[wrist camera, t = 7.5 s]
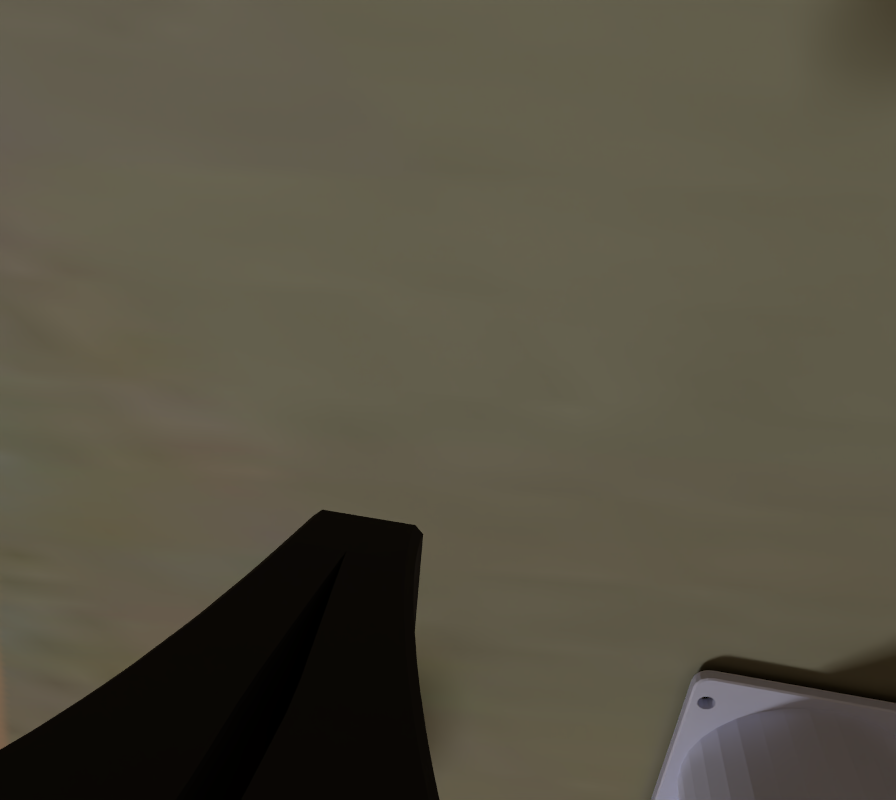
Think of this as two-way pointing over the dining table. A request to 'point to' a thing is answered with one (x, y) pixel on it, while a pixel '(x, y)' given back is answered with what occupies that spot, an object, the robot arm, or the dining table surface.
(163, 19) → the dining table surface
